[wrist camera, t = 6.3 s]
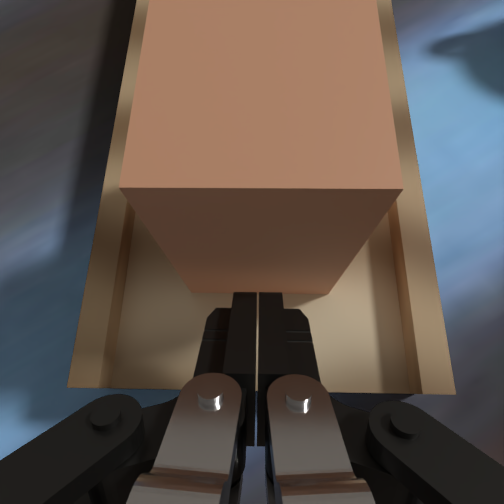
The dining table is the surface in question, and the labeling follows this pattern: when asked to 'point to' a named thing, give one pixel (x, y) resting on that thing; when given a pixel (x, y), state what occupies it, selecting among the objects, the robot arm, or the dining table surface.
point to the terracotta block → (261, 140)
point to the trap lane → (312, 305)
